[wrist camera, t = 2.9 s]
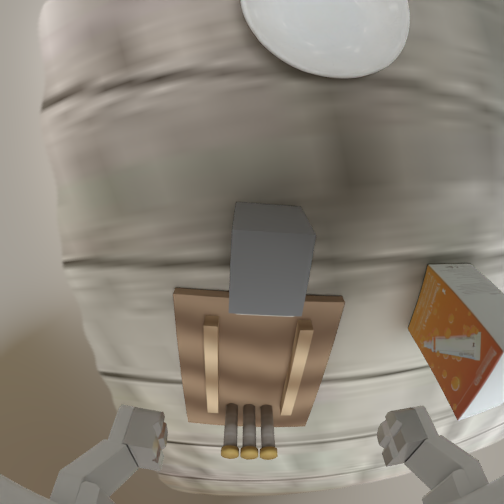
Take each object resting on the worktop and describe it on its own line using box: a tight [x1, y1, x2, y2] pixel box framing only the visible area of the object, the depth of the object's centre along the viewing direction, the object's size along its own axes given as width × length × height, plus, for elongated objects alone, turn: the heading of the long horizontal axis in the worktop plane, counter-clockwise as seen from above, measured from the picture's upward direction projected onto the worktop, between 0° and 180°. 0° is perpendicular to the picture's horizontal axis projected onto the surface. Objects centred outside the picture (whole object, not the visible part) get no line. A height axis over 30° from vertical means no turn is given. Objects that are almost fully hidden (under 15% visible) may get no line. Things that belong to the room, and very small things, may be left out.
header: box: [173, 288, 345, 460], centre depth 27 cm, size 20×15×8 cm
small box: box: [408, 264, 504, 421], centre depth 21 cm, size 8×6×13 cm
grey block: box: [229, 202, 316, 317], centre depth 22 cm, size 6×5×6 cm
